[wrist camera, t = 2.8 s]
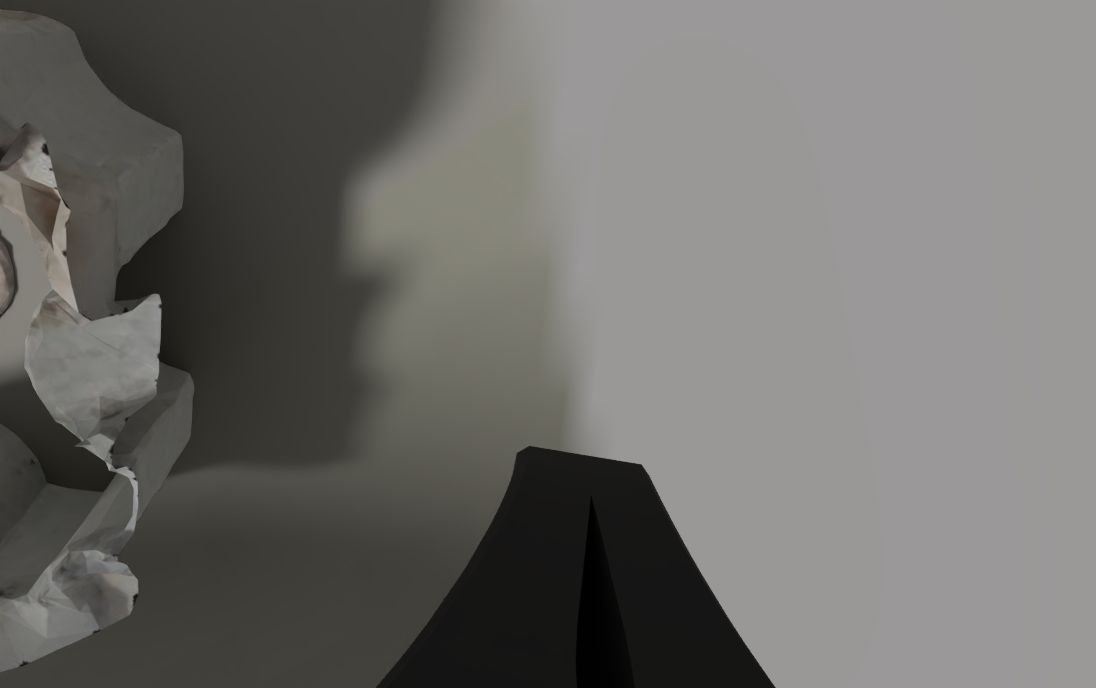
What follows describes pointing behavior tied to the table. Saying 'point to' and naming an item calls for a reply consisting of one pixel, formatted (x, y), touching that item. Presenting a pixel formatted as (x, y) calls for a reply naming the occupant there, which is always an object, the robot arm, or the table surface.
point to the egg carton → (82, 335)
